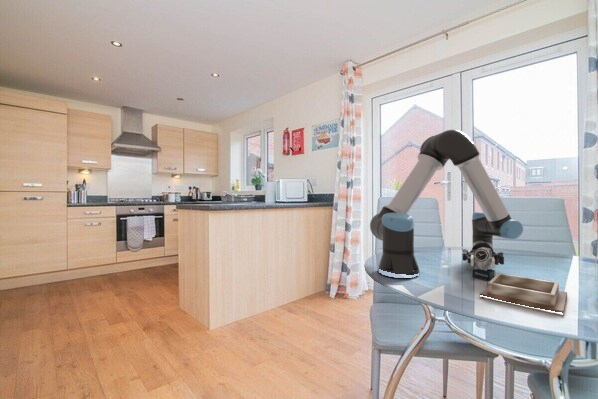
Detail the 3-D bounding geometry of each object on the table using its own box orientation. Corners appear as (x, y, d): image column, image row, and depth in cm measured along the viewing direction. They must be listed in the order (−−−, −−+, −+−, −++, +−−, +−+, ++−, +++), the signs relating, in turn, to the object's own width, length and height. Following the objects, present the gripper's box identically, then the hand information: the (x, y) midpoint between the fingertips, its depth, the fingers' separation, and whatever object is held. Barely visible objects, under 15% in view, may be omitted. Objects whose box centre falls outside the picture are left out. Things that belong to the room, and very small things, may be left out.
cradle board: (479, 297, 82) (479, 283, 82) (494, 282, 95) (493, 270, 95) (563, 315, 69) (563, 299, 69) (567, 296, 82) (567, 282, 82)
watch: (469, 277, 100) (471, 247, 99) (479, 273, 105) (481, 244, 104) (487, 282, 95) (489, 251, 95) (496, 277, 100) (498, 248, 99)
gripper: (510, 262, 110) (516, 278, 91) (457, 257, 120) (452, 270, 101) (510, 243, 110) (516, 255, 90) (456, 240, 120) (451, 250, 101)
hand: (482, 263), depth 96 cm, fingers closed on watch, 5 cm apart
